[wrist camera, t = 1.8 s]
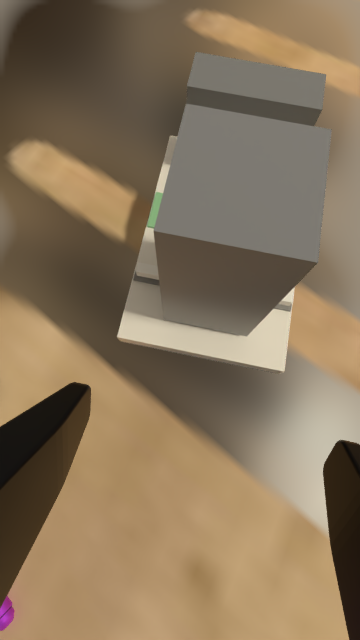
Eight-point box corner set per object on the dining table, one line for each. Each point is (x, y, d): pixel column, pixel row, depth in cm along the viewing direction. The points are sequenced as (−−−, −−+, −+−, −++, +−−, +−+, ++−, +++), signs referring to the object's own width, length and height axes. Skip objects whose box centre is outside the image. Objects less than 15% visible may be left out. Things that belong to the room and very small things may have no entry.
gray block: (282, 343, 19) (388, 276, 10) (129, 312, 20) (86, 217, 10) (291, 266, 21) (394, 140, 11) (148, 238, 21) (126, 93, 11)
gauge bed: (278, 374, 20) (331, 354, 13) (120, 341, 21) (93, 305, 14) (303, 172, 24) (354, 77, 17) (170, 148, 25) (168, 45, 18)
